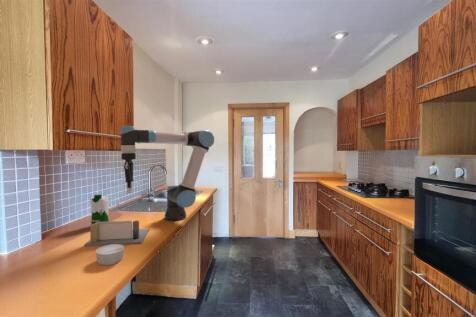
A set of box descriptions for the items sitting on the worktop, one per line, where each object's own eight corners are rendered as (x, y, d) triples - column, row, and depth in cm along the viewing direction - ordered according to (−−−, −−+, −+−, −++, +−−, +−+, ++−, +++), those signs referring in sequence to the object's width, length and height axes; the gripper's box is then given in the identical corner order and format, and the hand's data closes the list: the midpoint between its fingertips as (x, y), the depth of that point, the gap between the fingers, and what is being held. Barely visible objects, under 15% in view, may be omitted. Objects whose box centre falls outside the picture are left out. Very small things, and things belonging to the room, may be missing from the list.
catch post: (98, 242, 126) (98, 223, 125) (96, 244, 123) (96, 224, 123) (92, 243, 125) (92, 223, 125) (90, 244, 123) (90, 225, 123)
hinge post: (139, 238, 132) (139, 220, 132) (138, 240, 129) (138, 222, 129) (133, 239, 131) (133, 220, 131) (132, 241, 128) (132, 222, 128)
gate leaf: (132, 237, 131) (132, 220, 130) (131, 238, 129) (131, 221, 128) (95, 238, 128) (95, 221, 127) (94, 240, 126) (94, 222, 125)
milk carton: (88, 227, 150) (88, 195, 149) (98, 223, 159) (98, 193, 158) (102, 228, 149) (101, 195, 148) (111, 224, 158) (111, 193, 158)
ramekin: (113, 267, 99) (113, 255, 99) (88, 265, 101) (88, 253, 101) (129, 256, 110) (129, 244, 110) (107, 254, 112) (107, 243, 112)
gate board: (149, 230, 146) (149, 228, 146) (141, 243, 125) (141, 241, 125) (100, 232, 142) (100, 230, 141) (84, 246, 121) (84, 244, 121)
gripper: (124, 152, 147) (125, 191, 149) (118, 153, 135) (119, 195, 136) (137, 152, 149) (138, 190, 150) (132, 152, 136) (134, 194, 137)
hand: (129, 193), depth 143 cm, fingers closed
